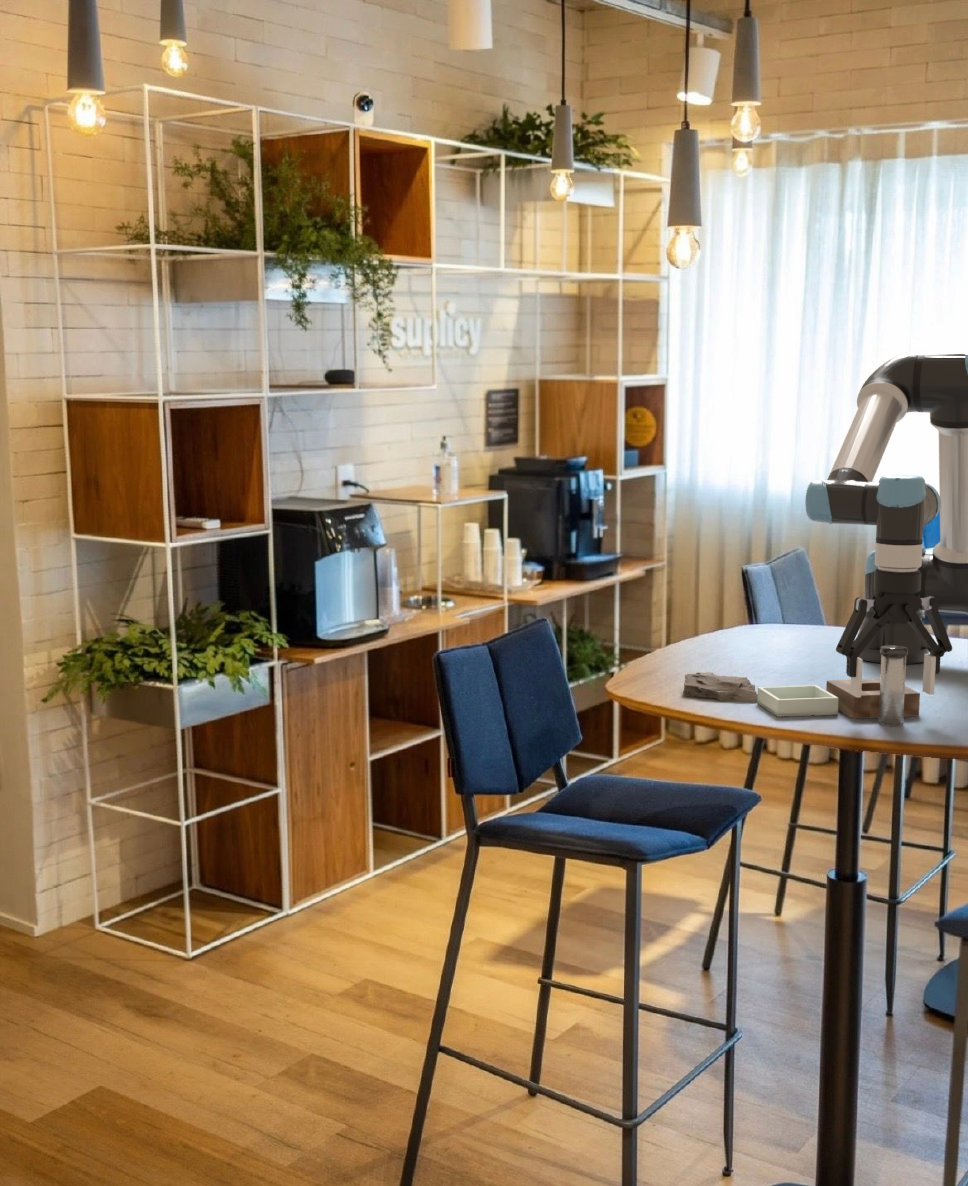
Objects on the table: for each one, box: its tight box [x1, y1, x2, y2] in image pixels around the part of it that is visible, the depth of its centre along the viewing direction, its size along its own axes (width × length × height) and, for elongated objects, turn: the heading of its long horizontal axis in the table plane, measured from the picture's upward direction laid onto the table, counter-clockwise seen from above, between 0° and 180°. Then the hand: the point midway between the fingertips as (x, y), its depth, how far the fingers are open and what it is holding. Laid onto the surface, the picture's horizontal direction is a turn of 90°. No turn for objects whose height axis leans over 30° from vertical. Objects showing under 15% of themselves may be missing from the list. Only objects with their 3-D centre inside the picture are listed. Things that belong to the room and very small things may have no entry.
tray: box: [756, 684, 839, 718], centre depth 243 cm, size 11×10×3 cm
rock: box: [682, 671, 758, 703], centre depth 253 cm, size 14×9×4 cm
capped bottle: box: [878, 645, 908, 727], centre depth 232 cm, size 4×4×13 cm
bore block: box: [825, 678, 921, 719], centre depth 243 cm, size 12×12×4 cm
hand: (892, 694), depth 232 cm, fingers open, 12 cm apart
